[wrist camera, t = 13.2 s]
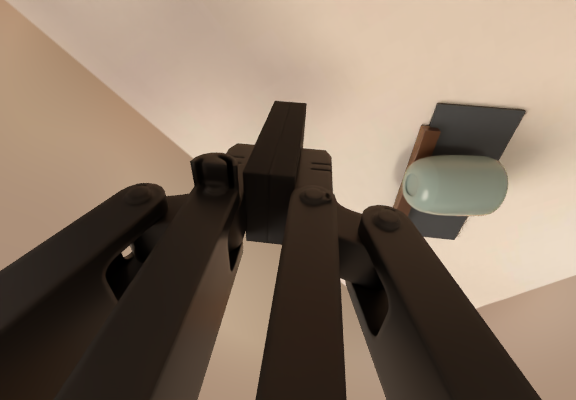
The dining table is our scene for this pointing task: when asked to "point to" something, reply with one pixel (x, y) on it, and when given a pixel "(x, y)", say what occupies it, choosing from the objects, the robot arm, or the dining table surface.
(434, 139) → the stop bar
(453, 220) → the mat
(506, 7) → the dining table surface
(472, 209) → the cup
